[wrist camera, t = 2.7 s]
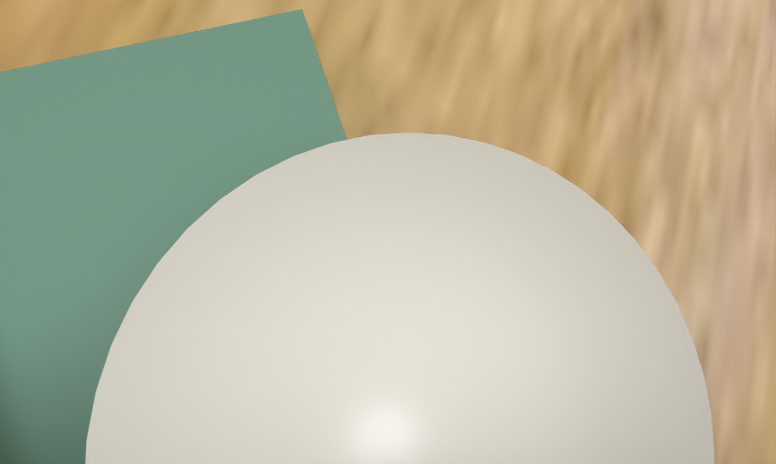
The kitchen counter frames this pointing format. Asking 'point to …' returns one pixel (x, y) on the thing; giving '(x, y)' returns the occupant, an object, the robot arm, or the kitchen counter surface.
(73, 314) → the board
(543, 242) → the dome-topped cylinder
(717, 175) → the kitchen counter surface
